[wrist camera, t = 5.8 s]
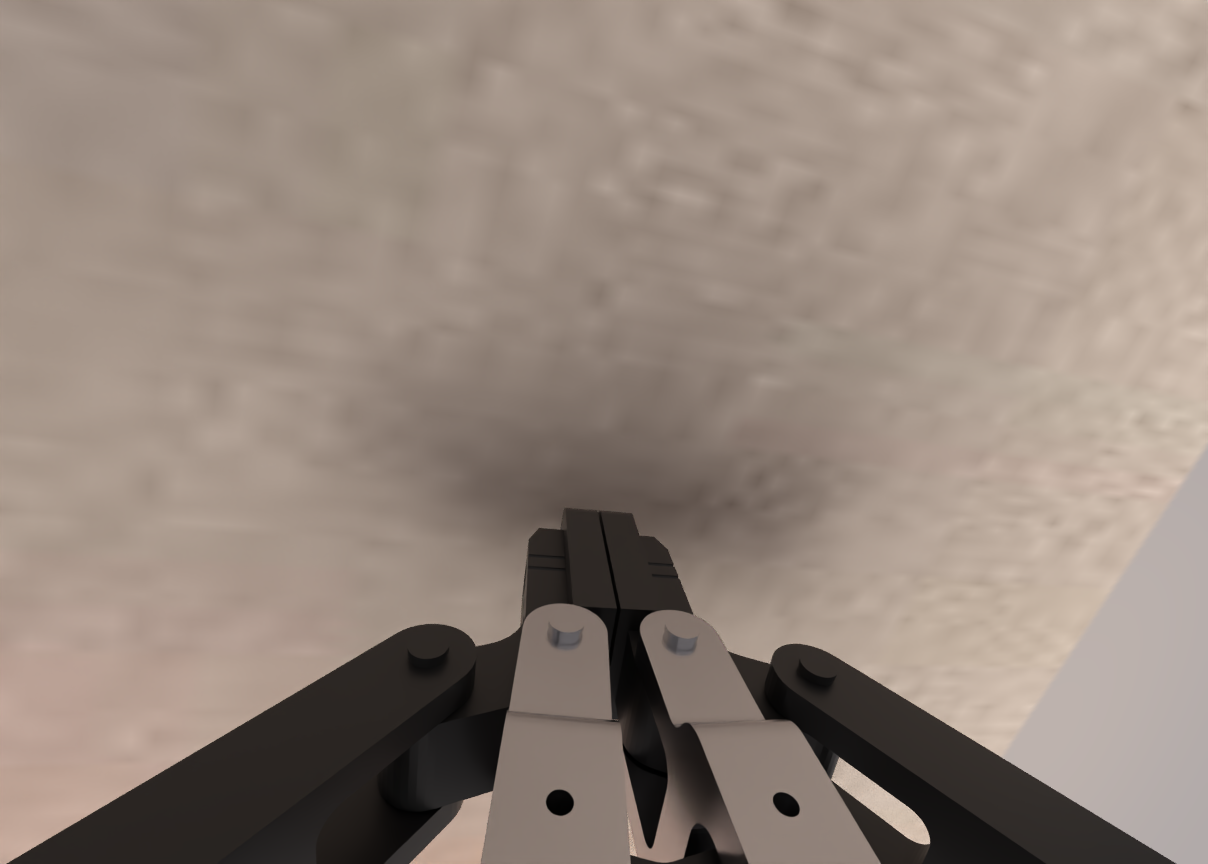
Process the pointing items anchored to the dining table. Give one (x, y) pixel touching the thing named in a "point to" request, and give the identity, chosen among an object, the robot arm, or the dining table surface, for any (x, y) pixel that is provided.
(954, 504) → the dining table surface
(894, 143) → the dining table surface
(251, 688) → the dining table surface
